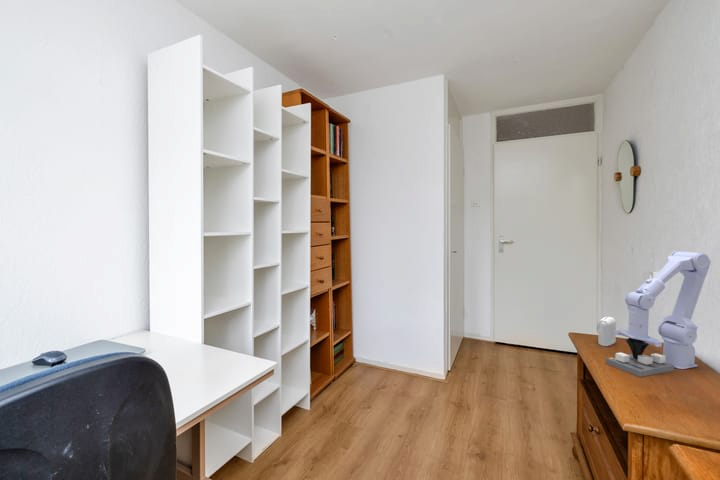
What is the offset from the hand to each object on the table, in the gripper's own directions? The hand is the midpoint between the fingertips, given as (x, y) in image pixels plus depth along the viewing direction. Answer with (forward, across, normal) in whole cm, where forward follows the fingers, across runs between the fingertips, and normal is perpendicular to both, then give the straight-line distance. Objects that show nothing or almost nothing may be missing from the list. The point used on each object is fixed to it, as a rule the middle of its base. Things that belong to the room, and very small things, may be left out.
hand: (637, 358), depth 124 cm
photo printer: (+3, -21, +13) cm, 25 cm away
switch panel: (+3, +1, 0) cm, 3 cm away
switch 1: (0, -1, -6) cm, 6 cm away
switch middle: (0, +3, 0) cm, 3 cm away
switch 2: (0, +3, +6) cm, 7 cm away
